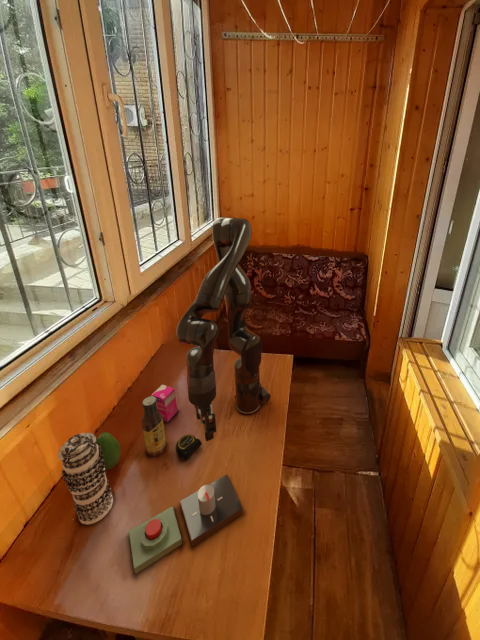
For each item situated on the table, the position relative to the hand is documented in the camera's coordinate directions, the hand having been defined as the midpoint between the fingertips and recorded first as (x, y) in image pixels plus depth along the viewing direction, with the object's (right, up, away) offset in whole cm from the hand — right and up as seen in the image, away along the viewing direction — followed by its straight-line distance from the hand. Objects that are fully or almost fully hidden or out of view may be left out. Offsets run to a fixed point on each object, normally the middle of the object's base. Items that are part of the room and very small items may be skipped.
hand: (204, 428), depth 91 cm
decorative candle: (-29, -20, -4) cm, 36 cm away
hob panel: (+3, -21, -4) cm, 21 cm away
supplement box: (-21, -10, +26) cm, 35 cm away
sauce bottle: (-20, -14, +13) cm, 28 cm away
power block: (-10, -23, -11) cm, 27 cm away
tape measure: (-8, -15, +12) cm, 21 cm away
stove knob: (+2, -18, -6) cm, 19 cm away
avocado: (-33, -16, +8) cm, 37 cm away
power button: (-10, -19, -12) cm, 25 cm away
